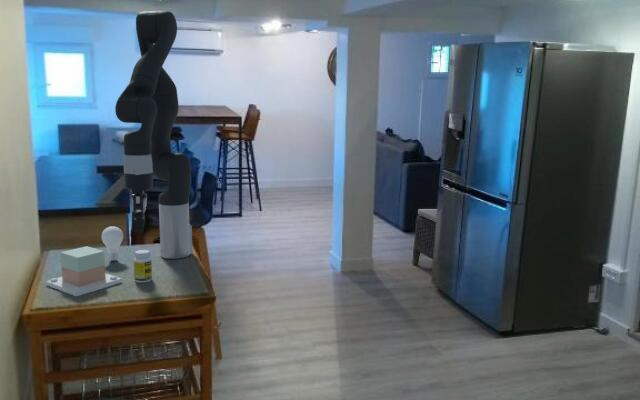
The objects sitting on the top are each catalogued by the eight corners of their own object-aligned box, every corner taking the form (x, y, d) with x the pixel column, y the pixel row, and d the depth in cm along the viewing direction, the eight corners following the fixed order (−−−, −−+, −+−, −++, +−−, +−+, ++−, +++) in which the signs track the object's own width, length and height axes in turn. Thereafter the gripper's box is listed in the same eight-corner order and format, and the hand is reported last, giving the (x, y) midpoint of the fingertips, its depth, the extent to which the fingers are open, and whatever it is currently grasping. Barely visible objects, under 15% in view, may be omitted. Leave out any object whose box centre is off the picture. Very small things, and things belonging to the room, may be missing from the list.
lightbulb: (121, 257, 191) (120, 223, 189) (126, 262, 186) (125, 227, 184) (100, 259, 188) (99, 225, 186) (105, 265, 182) (103, 229, 180)
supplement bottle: (147, 283, 167) (145, 254, 165) (131, 282, 168) (130, 253, 166) (155, 278, 171) (154, 249, 170) (139, 277, 172) (138, 248, 171)
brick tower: (91, 272, 175) (90, 242, 173) (121, 282, 167) (120, 250, 165) (46, 285, 164) (43, 252, 162) (76, 296, 156) (73, 262, 154)
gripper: (125, 167, 169) (127, 223, 172) (121, 174, 156) (124, 235, 159) (153, 167, 171) (154, 223, 174) (151, 174, 158) (153, 234, 161)
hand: (140, 229), depth 166 cm, fingers open, 8 cm apart
